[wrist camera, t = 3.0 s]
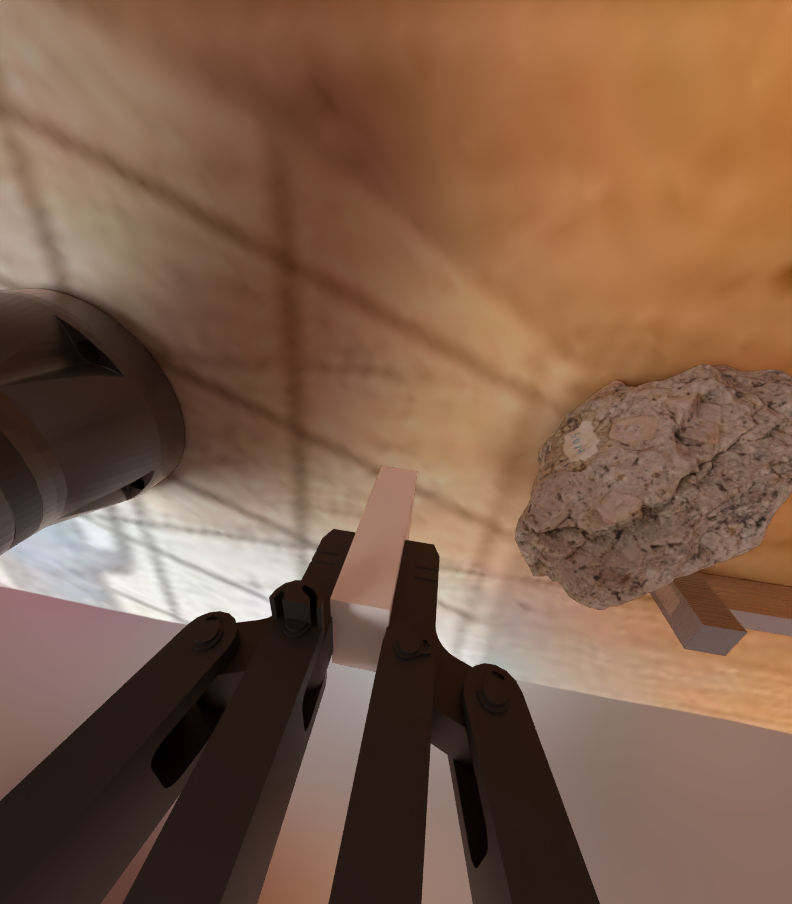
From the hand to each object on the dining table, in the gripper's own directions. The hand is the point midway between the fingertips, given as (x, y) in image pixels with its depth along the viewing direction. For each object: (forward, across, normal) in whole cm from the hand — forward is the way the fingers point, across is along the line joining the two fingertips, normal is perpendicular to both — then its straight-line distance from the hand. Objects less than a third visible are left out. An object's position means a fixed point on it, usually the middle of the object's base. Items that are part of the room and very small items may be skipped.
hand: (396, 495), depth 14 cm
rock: (+9, +12, 0) cm, 15 cm away
